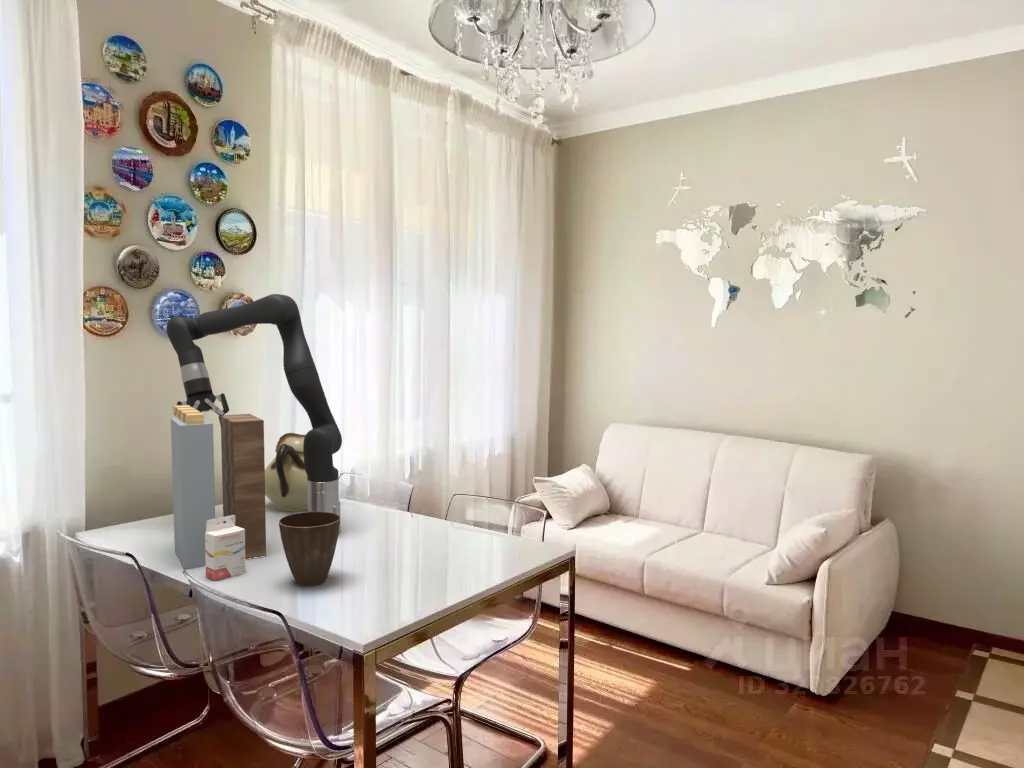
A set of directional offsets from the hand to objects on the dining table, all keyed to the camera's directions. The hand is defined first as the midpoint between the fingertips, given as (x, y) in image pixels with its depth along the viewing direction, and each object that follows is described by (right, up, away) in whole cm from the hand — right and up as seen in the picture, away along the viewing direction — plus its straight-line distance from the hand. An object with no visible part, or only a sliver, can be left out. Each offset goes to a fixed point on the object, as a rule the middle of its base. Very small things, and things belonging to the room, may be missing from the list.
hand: (208, 430), depth 223 cm
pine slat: (+3, +5, -21) cm, 22 cm away
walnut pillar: (+17, -33, -15) cm, 40 cm away
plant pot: (+42, -36, -38) cm, 67 cm away
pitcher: (+17, -29, +33) cm, 47 cm away
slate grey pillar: (+6, -34, -22) cm, 41 cm away
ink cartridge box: (+19, -35, -35) cm, 53 cm away
